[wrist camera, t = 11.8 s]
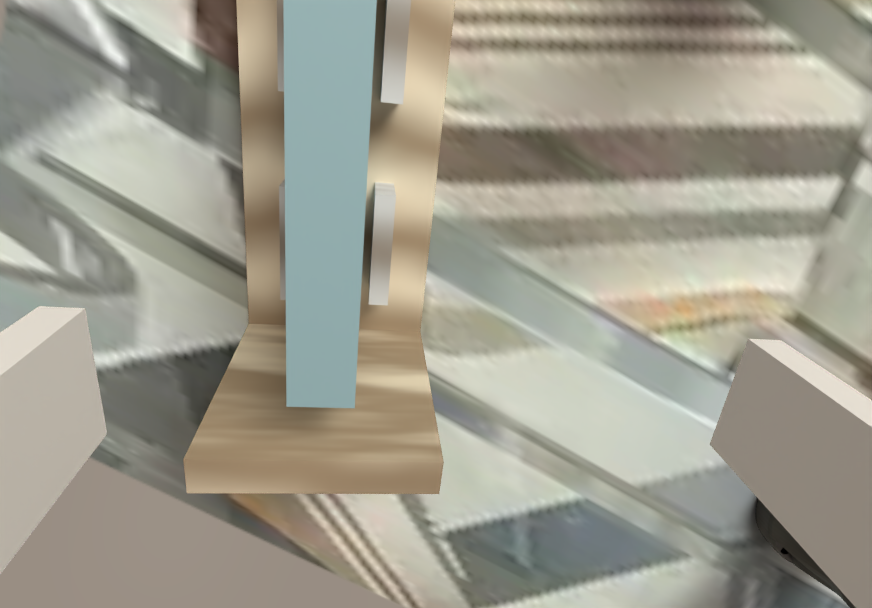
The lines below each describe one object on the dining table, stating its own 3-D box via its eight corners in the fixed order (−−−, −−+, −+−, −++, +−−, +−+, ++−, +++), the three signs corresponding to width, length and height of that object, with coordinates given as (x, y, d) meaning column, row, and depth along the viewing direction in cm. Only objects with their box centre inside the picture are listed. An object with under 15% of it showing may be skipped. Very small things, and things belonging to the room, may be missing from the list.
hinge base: (415, 342, 41) (438, 493, 27) (255, 335, 39) (187, 493, 25) (465, -138, 29) (557, -340, 15) (238, -178, 27) (87, -452, 13)
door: (360, 289, 37) (354, 408, 24) (316, 287, 36) (286, 406, 23) (379, -51, 29) (384, -143, 16) (322, -59, 28) (282, -161, 16)
